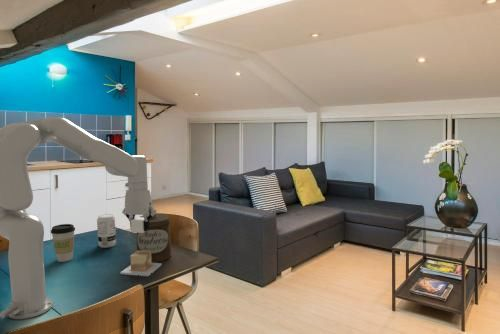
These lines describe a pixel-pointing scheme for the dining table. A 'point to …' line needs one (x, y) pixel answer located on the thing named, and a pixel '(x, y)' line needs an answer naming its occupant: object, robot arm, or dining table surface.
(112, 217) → the supplement can
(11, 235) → the robot arm
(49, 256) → the dining table surface
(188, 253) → the dining table surface
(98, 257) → the dining table surface
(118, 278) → the dining table surface
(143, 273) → the white orange square board
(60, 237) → the coffee cup
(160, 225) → the wooden container
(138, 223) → the cream block
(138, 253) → the oak block
